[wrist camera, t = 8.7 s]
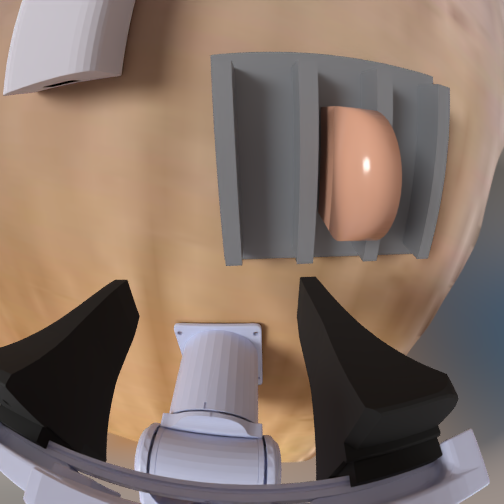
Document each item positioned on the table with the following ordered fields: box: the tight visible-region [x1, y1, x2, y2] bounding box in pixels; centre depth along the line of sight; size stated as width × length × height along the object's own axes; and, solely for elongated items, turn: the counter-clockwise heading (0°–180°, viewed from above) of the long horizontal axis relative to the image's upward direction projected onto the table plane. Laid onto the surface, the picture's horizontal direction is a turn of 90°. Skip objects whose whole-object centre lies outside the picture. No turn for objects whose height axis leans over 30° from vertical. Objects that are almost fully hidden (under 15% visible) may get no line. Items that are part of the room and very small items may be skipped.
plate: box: [318, 106, 402, 241], centre depth 13 cm, size 7×2×7 cm, turn 2°
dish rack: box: [211, 52, 450, 266], centre depth 16 cm, size 14×15×4 cm
